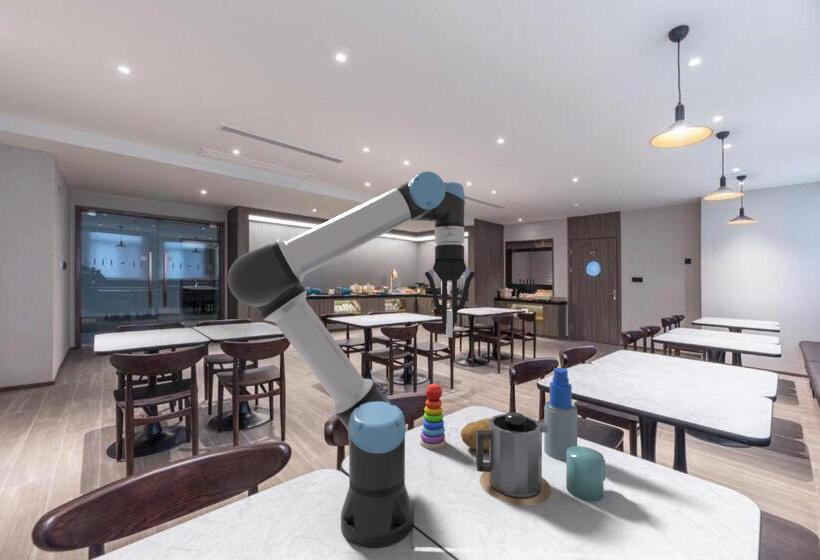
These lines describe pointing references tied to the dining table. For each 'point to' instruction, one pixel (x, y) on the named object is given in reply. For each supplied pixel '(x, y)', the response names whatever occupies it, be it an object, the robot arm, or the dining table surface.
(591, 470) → the mug
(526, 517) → the dining table surface
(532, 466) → the carafe
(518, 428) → the plunger
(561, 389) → the spray bottle
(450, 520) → the dining table surface
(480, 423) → the potato
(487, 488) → the trivet
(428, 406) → the stacking toy
